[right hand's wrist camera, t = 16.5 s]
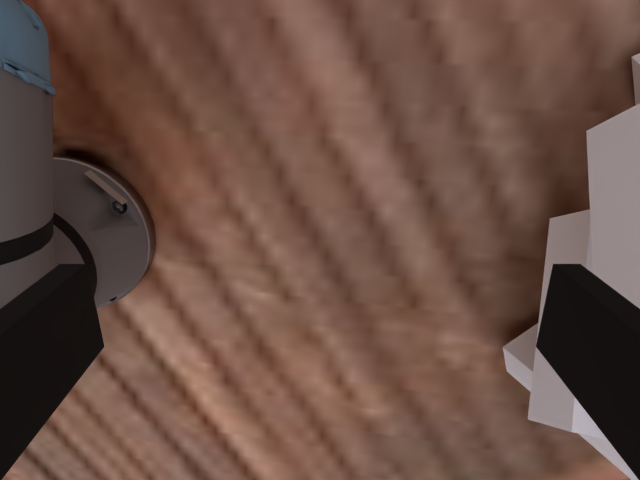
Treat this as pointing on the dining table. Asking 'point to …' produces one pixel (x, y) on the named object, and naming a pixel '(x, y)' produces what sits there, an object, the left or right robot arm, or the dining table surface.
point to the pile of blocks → (590, 265)
